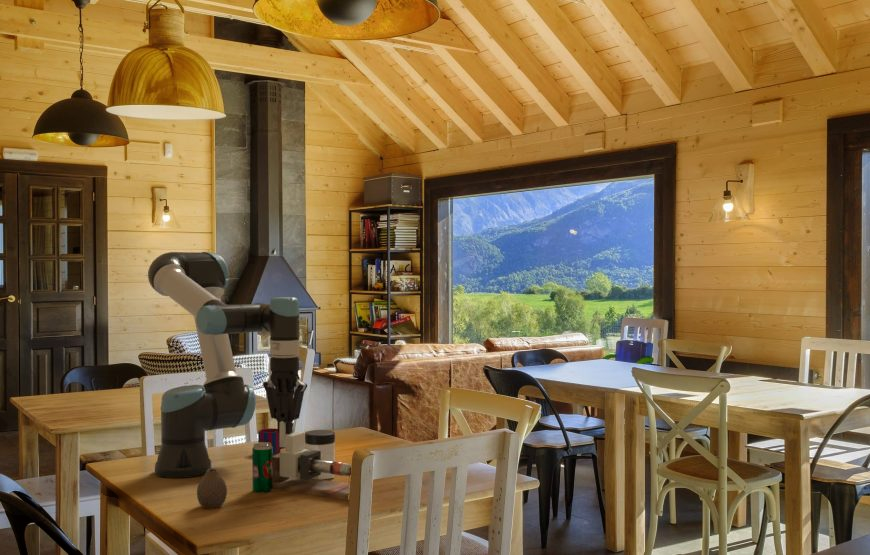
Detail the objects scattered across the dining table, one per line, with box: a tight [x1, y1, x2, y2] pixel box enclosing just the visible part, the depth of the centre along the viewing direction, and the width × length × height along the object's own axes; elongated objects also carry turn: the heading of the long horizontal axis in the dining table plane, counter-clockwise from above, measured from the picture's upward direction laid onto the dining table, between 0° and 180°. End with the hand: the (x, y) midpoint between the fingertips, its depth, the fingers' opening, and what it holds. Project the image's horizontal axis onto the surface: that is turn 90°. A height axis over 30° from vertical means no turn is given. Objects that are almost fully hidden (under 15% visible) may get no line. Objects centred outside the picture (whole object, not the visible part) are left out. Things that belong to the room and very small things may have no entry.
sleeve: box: [279, 431, 310, 478], centre depth 221 cm, size 5×6×11 cm
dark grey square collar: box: [300, 450, 321, 480], centre depth 219 cm, size 2×6×6 cm, turn 153°
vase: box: [196, 468, 228, 510], centre depth 202 cm, size 7×7×9 cm
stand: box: [272, 453, 351, 501], centre depth 218 cm, size 26×10×8 cm, turn 63°
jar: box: [304, 429, 336, 480], centre depth 231 cm, size 9×8×12 cm
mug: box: [257, 428, 285, 455], centre depth 261 cm, size 7×10×7 cm
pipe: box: [298, 457, 351, 477], centre depth 218 cm, size 24×3×3 cm, turn 63°
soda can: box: [251, 442, 274, 494], centre depth 216 cm, size 5×5×12 cm
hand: (285, 446), depth 223 cm, fingers closed
